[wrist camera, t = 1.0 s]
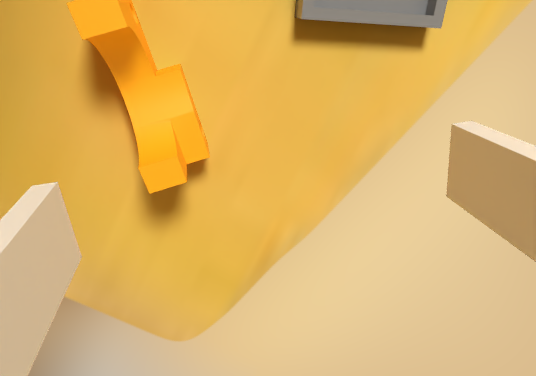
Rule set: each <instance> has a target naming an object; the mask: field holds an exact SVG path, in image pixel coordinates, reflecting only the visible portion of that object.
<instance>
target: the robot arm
mask: <svg viewBox="0 0 536 376" xmlns="http://www.w3.org/2000/svg"><path fill="white" fill-rule="evenodd" d="M446 196H447V197H448V198H449V199H451V200H452V201H453V202H455V203H456V204H458V205H459V206H460V207H462V208H463V209H464V210H466V211H467V212H468V213H470V214H471V215H473V216H474V217H475V218H477V219H478V220H480V221H481V222H482V223H483V224H485V225H486V226H488V227H489V228H490V229H492V230H493V231H494V232H496V233H497V234H498V235H500V236H501V237H502V238H504V239H505V240H507V241H508V242H509V243H511V244H512V245H513V246H515V247H516V248H517V249H519V250H520V251H522V252H523V253H525V254H526V255H527V256H529V257H530V258H531V259H533V260H534V261H535V262H536V146H535V145H532V144H530V143H527V142H524V141H522V140H519V139H517V138H514V137H512V136H509V135H507V134H504V133H501V132H499V131H496V130H494V129H491V128H489V127H486V126H484V125H481V124H479V123H476V122H474V121H469V122H462V123H456V124H452V128H451V141H450V155H449V168H448V182H447V195H446ZM81 258H82V256H81V253H80V250H79V247H78V244H77V241H76V238H75V234H74V231H73V228H72V225H71V222H70V219H69V216H68V213H67V210H66V206H65V203H64V200H63V197H62V194H61V191H60V188H59V185H58V182H55V183H48V184H41V185H34V186H31V187H30V189H29V190H28V191H27V192H26V193H25V194H24V195H23V196H22V197H21V198H20V199H19V200H18V201H17V203H16V204H15V205H14V206H13V207H12V208H11V209H10V210H9V211H8V212H7V213H6V214H5V215H4V217H3V218H2V219H1V220H0V376H28V374H29V372H30V369H31V367H32V365H33V363H34V361H35V359H36V356H37V354H38V352H39V350H40V347H41V345H42V343H43V341H44V339H45V337H46V334H47V332H48V330H49V328H50V326H51V323H52V321H53V319H54V317H55V315H56V313H57V310H58V308H59V306H60V303H61V302H62V299H63V297H64V295H65V293H66V291H67V288H68V286H69V284H70V282H71V280H72V277H73V275H74V273H75V271H76V269H77V266H78V264H79V262H80V260H81Z"/></svg>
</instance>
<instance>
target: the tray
mask: <svg viewBox="0 0 536 376" xmlns="http://www.w3.org/2000/svg"><path fill="white" fill-rule="evenodd" d="M446 4H447V0H296V9H295V17H296V18H299V19H309V20H324V21H339V22H354V23H369V24H384V25H399V26H415V27H430V28H441V27H442V22H443V18H444V13H445V9H446Z"/></svg>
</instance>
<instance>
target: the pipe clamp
mask: <svg viewBox="0 0 536 376" xmlns="http://www.w3.org/2000/svg"><path fill="white" fill-rule="evenodd" d="M67 6H68V8H69V10H70V13H71V15H72V17H73V19H74V22H75V24H76V26H77V29H78V31H79V33H80V35H81V38H82V40H83V39H85V40H88V41H89V42H91V43H92V44H93V45H94V46H95V47H96V49H97V50H98V51H99V53H100V54H101V55H102V57H103V58H104V60H105V62H106V63H107V65H108V67H109V69H110V71H111V72H112V74H113V76H114V78H115V80H116V83H117V85H118V87H119V89H120V92H121V94H122V96H123V99H124V101H125V104H126V107H127V109H128V112H129V115H130V118H131V122H132V125H133V128H134V132H135V136H136V141H137V146H138V153H139V167H138V169H139V171H140V173H141V175H142V178H143V180H144V182H145V185H146V187H147V189H148V192H149V194H150V193H153V192H157V191H160V190H163V189H166V188H170V187H173V186H176V185H179V184H183V183H186V182H187V164H189V163H193V162H196V161H199V160H202V159H206V158H209V157H210V156H209V149H208V143H207V140H206V137H205V134H204V131H203V128H202V125H201V122H200V120H199V117H198V114H197V111H196V108H195V105H194V102H193V99H192V96H191V93H190V90H189V87H188V84H187V82H186V79H185V76H184V73H183V70H182V67H181V64H178V65H174V66H171V67H168V68H164V69H161V70H157V69H156V66H155V63H154V60H153V58H152V55H151V52H150V50H149V47H148V44H147V41H146V39H145V36H144V33H143V31H142V28H141V25H140V22H139V20H138V17H137V14H136V12H135V9H134V6H133V4H132V1H131V0H75V1H72V2H68V3H67Z"/></svg>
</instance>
